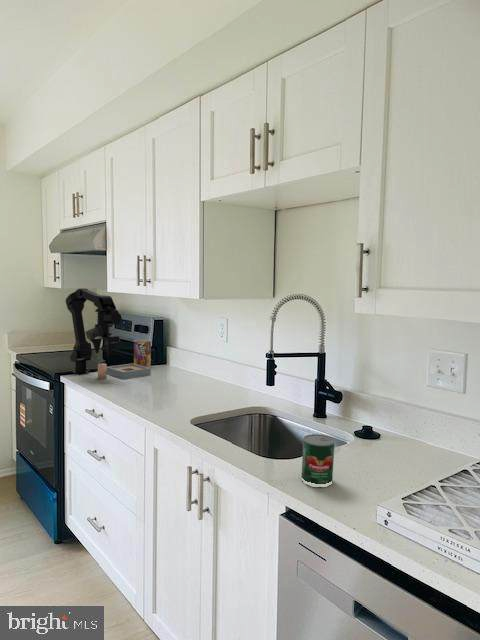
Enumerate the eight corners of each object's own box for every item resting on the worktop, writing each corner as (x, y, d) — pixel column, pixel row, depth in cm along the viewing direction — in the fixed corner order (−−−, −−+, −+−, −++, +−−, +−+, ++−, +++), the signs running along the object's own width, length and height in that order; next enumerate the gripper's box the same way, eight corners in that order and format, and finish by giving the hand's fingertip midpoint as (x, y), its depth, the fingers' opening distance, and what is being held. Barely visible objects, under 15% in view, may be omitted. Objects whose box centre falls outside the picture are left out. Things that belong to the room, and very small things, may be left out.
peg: (96, 378, 228) (96, 364, 227) (103, 377, 230) (103, 363, 230) (100, 379, 225) (100, 365, 224) (107, 378, 228) (108, 364, 227)
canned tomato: (312, 490, 115) (314, 446, 114) (295, 477, 122) (297, 436, 121) (338, 485, 119) (341, 442, 118) (320, 473, 126) (322, 432, 125)
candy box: (150, 367, 259) (151, 339, 258) (150, 368, 255) (150, 340, 254) (134, 367, 258) (134, 339, 257) (133, 368, 254) (133, 340, 252)
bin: (105, 373, 239) (105, 366, 238) (133, 370, 250) (133, 363, 250) (122, 379, 228) (122, 372, 227) (150, 375, 239) (150, 368, 239)
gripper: (77, 320, 223) (76, 353, 225) (100, 325, 212) (99, 360, 213) (97, 319, 232) (96, 351, 234) (121, 324, 220) (120, 357, 222)
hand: (102, 354), depth 225 cm, fingers open, 9 cm apart
